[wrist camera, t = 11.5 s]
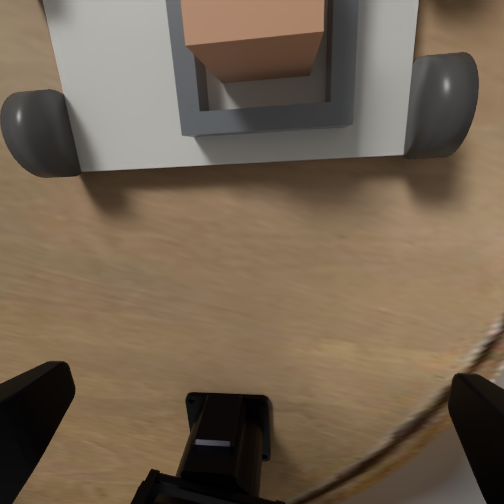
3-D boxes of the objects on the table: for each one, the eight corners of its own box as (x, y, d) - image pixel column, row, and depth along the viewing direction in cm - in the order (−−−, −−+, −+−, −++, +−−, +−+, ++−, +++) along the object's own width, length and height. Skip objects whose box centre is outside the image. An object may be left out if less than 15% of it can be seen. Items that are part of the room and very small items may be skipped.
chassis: (423, 156, 17) (467, 158, 13) (73, 174, 19) (16, 181, 15) (463, -179, 13) (549, -339, 8) (9, -100, 15) (-94, -193, 11)
